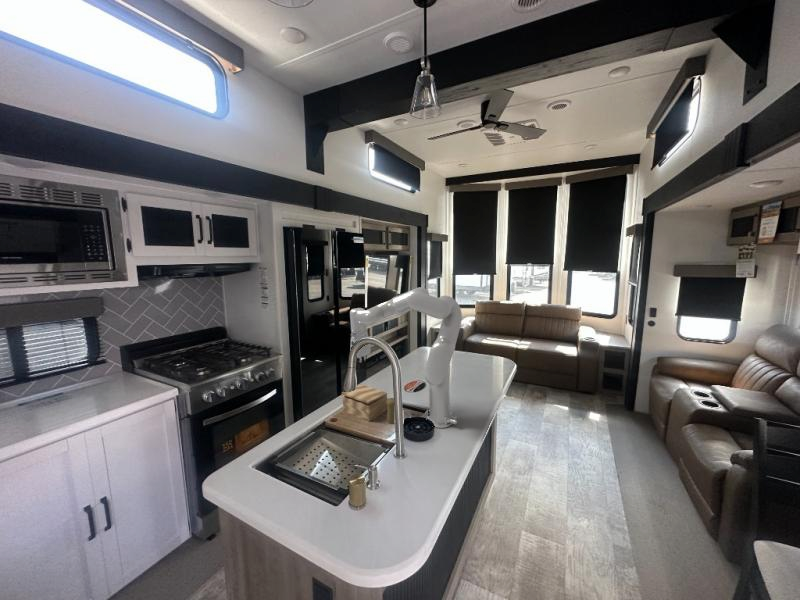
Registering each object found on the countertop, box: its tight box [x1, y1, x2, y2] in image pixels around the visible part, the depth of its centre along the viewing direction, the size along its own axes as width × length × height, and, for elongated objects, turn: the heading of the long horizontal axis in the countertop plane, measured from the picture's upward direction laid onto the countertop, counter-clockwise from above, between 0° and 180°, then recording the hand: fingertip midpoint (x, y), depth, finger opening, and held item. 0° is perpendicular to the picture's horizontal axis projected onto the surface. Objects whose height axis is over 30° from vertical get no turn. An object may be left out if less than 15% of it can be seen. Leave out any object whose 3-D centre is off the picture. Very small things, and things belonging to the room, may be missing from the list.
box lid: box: [341, 384, 388, 404], centre depth 158 cm, size 18×14×1 cm
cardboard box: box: [342, 394, 388, 422], centre depth 159 cm, size 18×14×8 cm
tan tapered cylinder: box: [386, 397, 395, 425], centre depth 148 cm, size 6×6×11 cm
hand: (361, 368), depth 155 cm, fingers closed
